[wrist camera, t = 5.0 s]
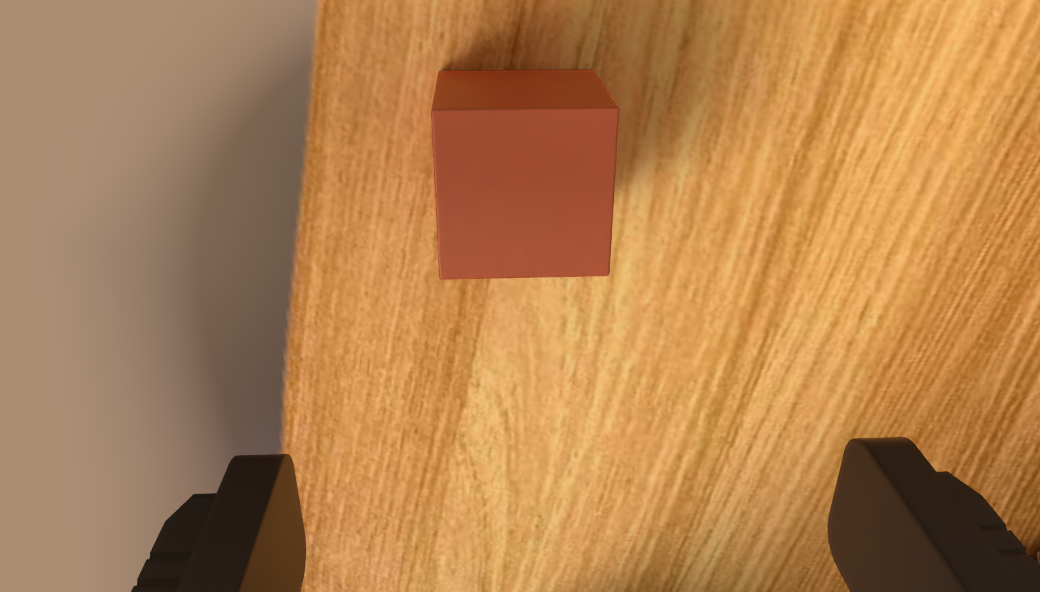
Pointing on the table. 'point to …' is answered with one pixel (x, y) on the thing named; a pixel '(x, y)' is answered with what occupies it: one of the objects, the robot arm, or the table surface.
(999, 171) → the table surface
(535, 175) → the block
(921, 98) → the table surface
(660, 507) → the table surface
